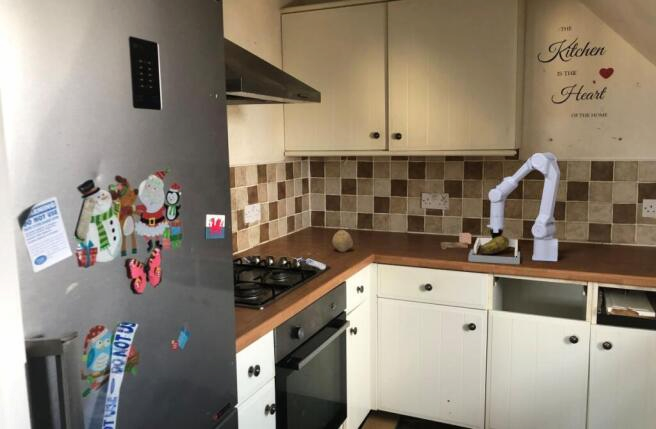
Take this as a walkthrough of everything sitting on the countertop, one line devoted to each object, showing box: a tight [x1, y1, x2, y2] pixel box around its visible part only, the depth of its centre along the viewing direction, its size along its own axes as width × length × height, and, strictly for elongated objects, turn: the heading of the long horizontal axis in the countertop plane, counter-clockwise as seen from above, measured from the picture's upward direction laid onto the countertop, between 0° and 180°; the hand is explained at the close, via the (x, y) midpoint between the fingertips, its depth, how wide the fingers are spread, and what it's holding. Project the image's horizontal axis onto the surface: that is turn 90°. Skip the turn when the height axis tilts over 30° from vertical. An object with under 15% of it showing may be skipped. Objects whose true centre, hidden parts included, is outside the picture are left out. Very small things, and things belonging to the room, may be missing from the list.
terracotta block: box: [458, 232, 472, 245], centre depth 266 cm, size 4×4×4 cm
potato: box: [479, 235, 509, 256], centre depth 240 cm, size 8×13×8 cm, turn 89°
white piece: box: [473, 237, 519, 257], centre depth 248 cm, size 18×22×4 cm
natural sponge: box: [331, 229, 354, 253], centre depth 249 cm, size 9×9×10 cm
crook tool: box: [440, 241, 469, 250], centre depth 255 cm, size 12×6×2 cm, turn 85°
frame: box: [468, 248, 521, 265], centre depth 231 cm, size 20×13×2 cm, turn 71°
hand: (495, 246), depth 245 cm, fingers closed
